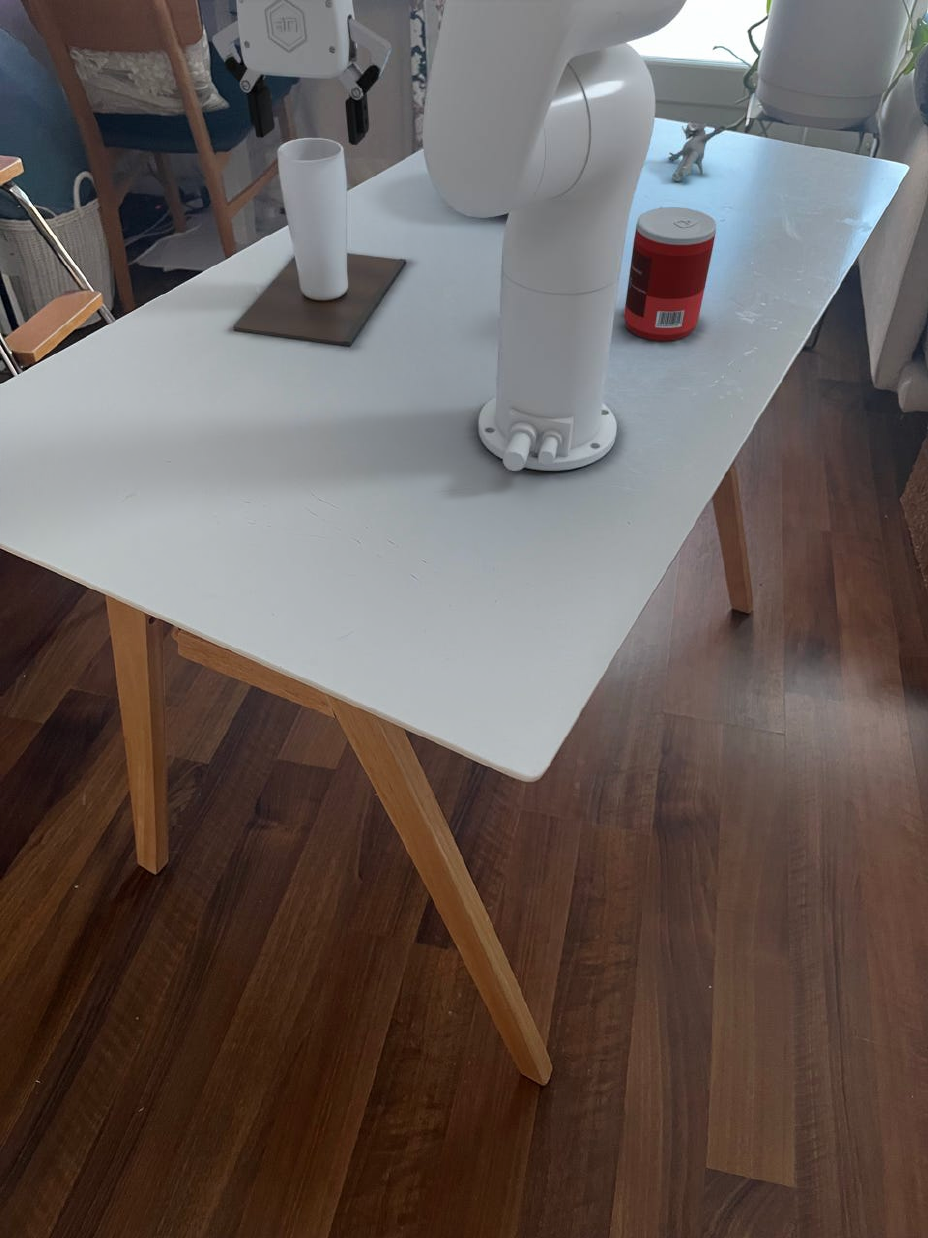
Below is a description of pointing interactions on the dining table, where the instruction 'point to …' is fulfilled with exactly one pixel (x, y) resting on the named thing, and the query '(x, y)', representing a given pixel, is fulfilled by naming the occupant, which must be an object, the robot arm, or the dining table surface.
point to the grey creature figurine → (693, 148)
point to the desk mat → (322, 303)
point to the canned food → (668, 272)
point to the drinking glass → (316, 213)
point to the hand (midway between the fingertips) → (311, 136)
